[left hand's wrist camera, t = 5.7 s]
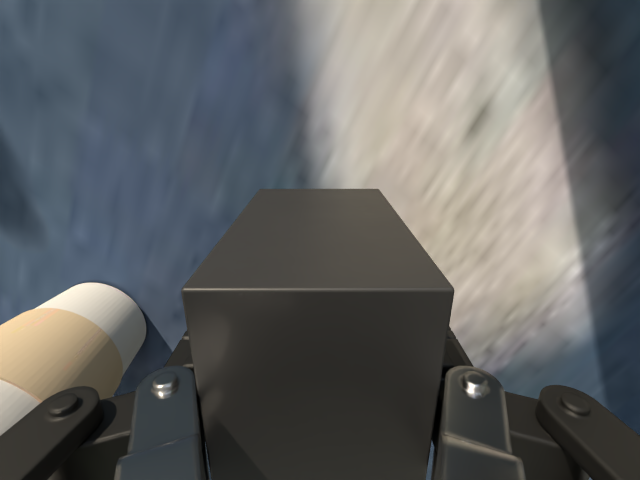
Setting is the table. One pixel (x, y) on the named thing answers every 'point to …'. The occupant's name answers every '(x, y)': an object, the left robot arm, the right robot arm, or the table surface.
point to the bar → (318, 340)
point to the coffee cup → (67, 347)
